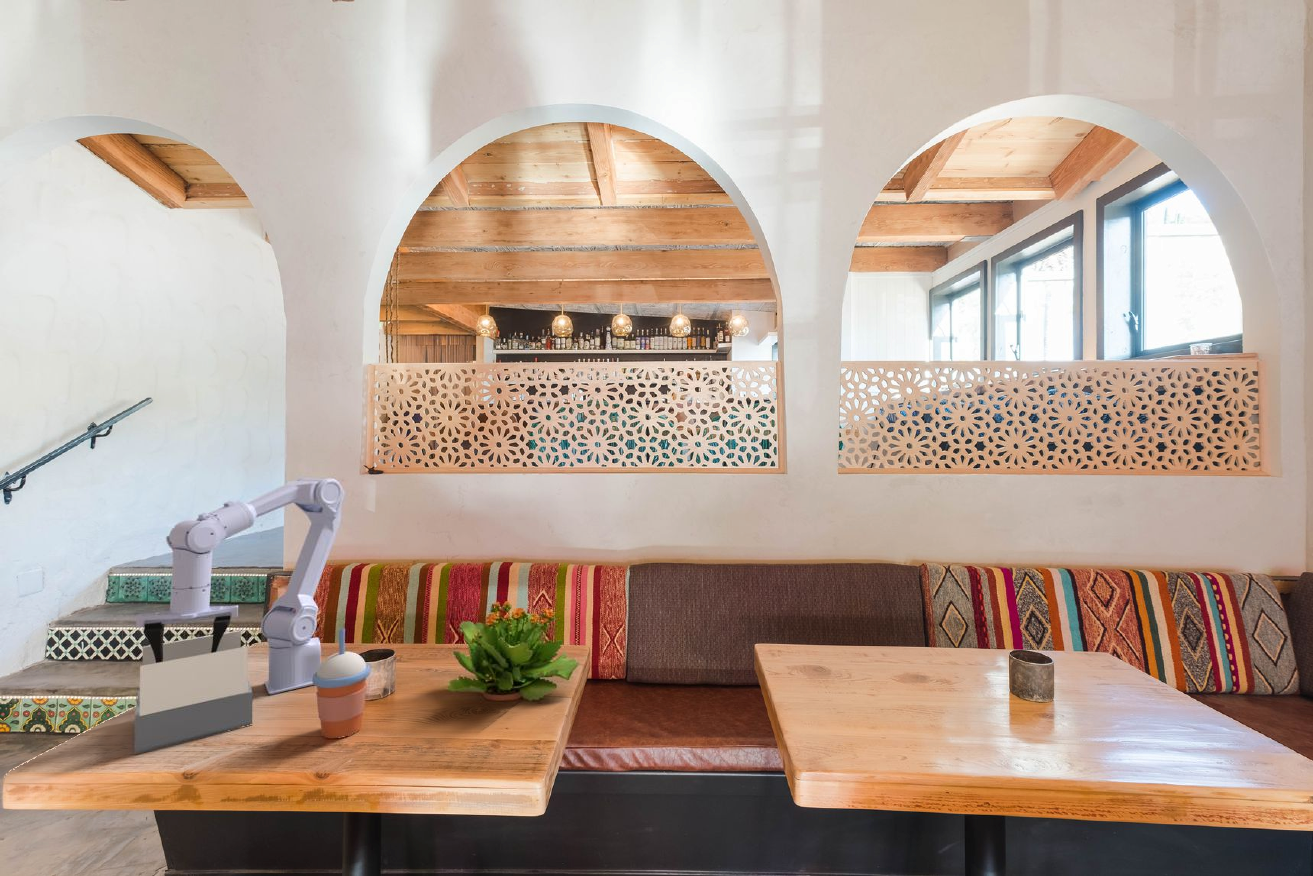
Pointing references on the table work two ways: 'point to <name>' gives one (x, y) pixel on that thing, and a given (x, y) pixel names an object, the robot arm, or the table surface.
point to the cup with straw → (341, 691)
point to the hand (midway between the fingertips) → (186, 662)
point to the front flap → (193, 680)
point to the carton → (191, 721)
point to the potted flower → (511, 656)
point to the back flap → (192, 647)
